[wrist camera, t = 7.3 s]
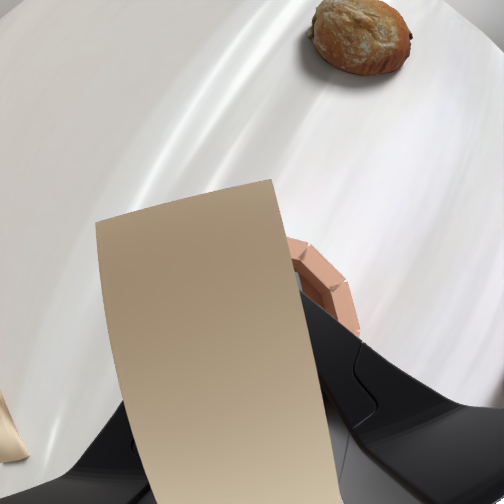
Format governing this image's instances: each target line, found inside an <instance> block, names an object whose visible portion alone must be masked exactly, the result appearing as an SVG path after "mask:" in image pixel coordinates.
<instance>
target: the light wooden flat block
mask: <svg viewBox="0 0 504 504" xmlns="http://www.w3.org/2000/svg"><path fill="white" fill-rule="evenodd" d="M28 456H30V455H29V453H28V451H27V449H26V447H25V445H24V443H23V441H22V439H21V437H20V435H19V433H18V431H17V429H16V426H15V424H14V422H13V420H12V417H11V415H10V413H9V410H8V408H7V405H6V403H5V400H4V398H3V395H2V393H1V390H0V463H3V462H10V461H16V460H21V459H24V458H26V457H28Z"/></svg>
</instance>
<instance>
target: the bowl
mask: <svg viewBox="0 0 504 504" xmlns="http://www.w3.org/2000/svg"><path fill="white" fill-rule="evenodd" d="M286 238H287V243H288V247H289V251H290V255H291V259H292V263H293V267H294V271H295V272H298V275H299V279H300V283H301V287H302V291H303V293H304V294H306V295H307V296H308V297H309V298H310V299H312V300H313V301H314V302H315V303H317V304H318V305H319V306H320V307H322V308H323V309H324V310H325V311H326V312H328V313H329V314H330V315H331V316H333V317H334V318H335V319H336V320H337V321H339V322H340V323H341V324H342V325H344V326H345V327H346V328H347V329H348V330H350V331H351V332H352V333H353V334H355V335H356V336H357V337H358V338H359V334H360V332H357V331H356V330H359V329H360V327H359V323H358V319H357V315H356V311H355V307H354V304H353V300H352V296H351V292H350V289H349V285H348V282H344V281H345V280H346V279H345V278H344V277H343V276H342V275H341V274H340V273H339V272H338V271H337V270H336V269H335V268H334V267H333V266H332V265H331V264H330V263H329V262H328V261H327V260H326V259H325V258H324V257H323V256H322V255H321V254H320V253H319V252H318V251H317V250H316V249H315V248H314V247H313V246H312V245H310V246H309V247H308V243H307V242H303V241H300V240H296V239H292V238H289V237H286ZM307 247H308V248H307ZM343 282H344V283H343Z"/></svg>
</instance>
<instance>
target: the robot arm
mask: <svg viewBox="0 0 504 504" xmlns="http://www.w3.org/2000/svg"><path fill="white" fill-rule="evenodd" d="M299 293H300V297H301V301H302V306H303V310H304V315H305V319H306V323H307V328H308V332H309V337H310V342H311V346H312V351H313V355H314V360H315V365H316V370H317V374H318V379H319V384H320V389H321V394H322V399H323V404H324V409H325V414H326V419H327V424H328V430H329V435H330V440H331V446H332V451H333V457H334V462H335V468H336V474H337V479H338V485H339V491H340V495H341V498H342V500H343V503H344V504H504V408H487V407H473V406H467V405H463V404H459V403H456V402H454V401H452V400H450V399H448V398H446V397H444V396H442V395H441V394H439V393H438V392H436V391H434V390H433V389H431V388H429V387H428V386H426V385H425V384H423V383H421V382H420V381H418V380H416V379H415V378H413V377H412V376H410V375H408V374H407V373H405V372H404V371H402V370H401V369H399V368H398V367H396V366H395V365H393V364H392V363H390V362H389V361H387V360H386V359H385V358H383V357H382V356H381V355H379V354H378V353H377V352H375V351H374V350H373V349H372V348H371V347H369V346H368V345H367V344H366V343H364V342H363V343H362V340H361V339H359V338H358V337H357V336H356V335H355V334H353V333H352V332H351V331H350V330H348V329H347V328H346V327H345V326H344V325H342V324H341V323H340V322H339V321H337V320H336V319H335V318H334V317H333V316H331V315H330V314H329V313H328V312H326V311H325V310H324V309H323V308H322V307H320V306H319V305H318V304H317V303H315V302H314V301H313V300H312V299H310V298H309V297H308V296H307V295H306V294H304V293H303V292H302V291H301V290H299ZM0 504H157V501H156V499H155V496H154V494H153V491H152V489H151V486H150V483H149V481H148V478H147V475H146V473H145V470H144V467H143V464H142V461H141V458H140V455H139V452H138V449H137V446H136V443H135V440H134V436H133V433H132V430H131V426H130V423H129V420H128V416H127V412H126V409H125V405H124V401H122V402H121V404H120V405H119V407H118V408H117V410H116V411H115V413H114V414H113V416H112V417H111V418H110V420H109V421H108V422H107V424H106V425H105V426H104V428H103V429H102V430H101V432H100V433H99V434H98V436H97V437H96V438H95V439H94V441H93V442H92V443H91V445H90V446H89V447H88V448H87V450H86V451H85V452H84V454H83V455H82V456H81V458H80V459H79V460H78V461H77V463H76V464H75V465H74V466H73V467H72V468H71V469H70V470H69V471H68V472H66V473H65V474H64V475H62V476H60V477H58V478H56V479H54V480H51V481H49V482H46V483H44V484H41V485H38V486H36V487H33V488H30V489H27V490H25V491H22V492H19V493H16V494H13V495H10V496H7V497H4V498H0Z"/></svg>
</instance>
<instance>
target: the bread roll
mask: <svg viewBox="0 0 504 504" xmlns="http://www.w3.org/2000/svg"><path fill="white" fill-rule="evenodd" d="M311 23H312V27H310V29H309V30H308V32H307V35H308V37H309V38H311V39H312V42H313V44H314V46H315V47H316V49H317V50H318V51H319V53H320V54H321V56H322V57H323V58H324V59H325V60H326V61H327V62H329V63H330V64H331V65H333V66H334V67H336V68H338V69H341V70H343V71H346V72H350V73H353V74H357V75H362V76H369V75H376V74H383V73H389V72H392V71H395V70H396V69H397V68H399V67H401V66H402V65H403V64H404V62H405V60H406V59H407V58H408V57H409V55H410V49H411V48H410V46H411V42H410V40H411V39H412V38H413V37H412V33H411V32H410V30H409V28H408V27H407V25H406V23H405V21H404V19H403V17H402V16H401V15H400V14H399V12H398V11H397V10H395V9H394V8H392V7H390V6H389V5H388V4H386V3H385V2H382V1H379V0H324V1H322V2H321V4H320V5H319V6H318V7H316V13H315V15H314V16H313V19H312V22H311Z"/></svg>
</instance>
